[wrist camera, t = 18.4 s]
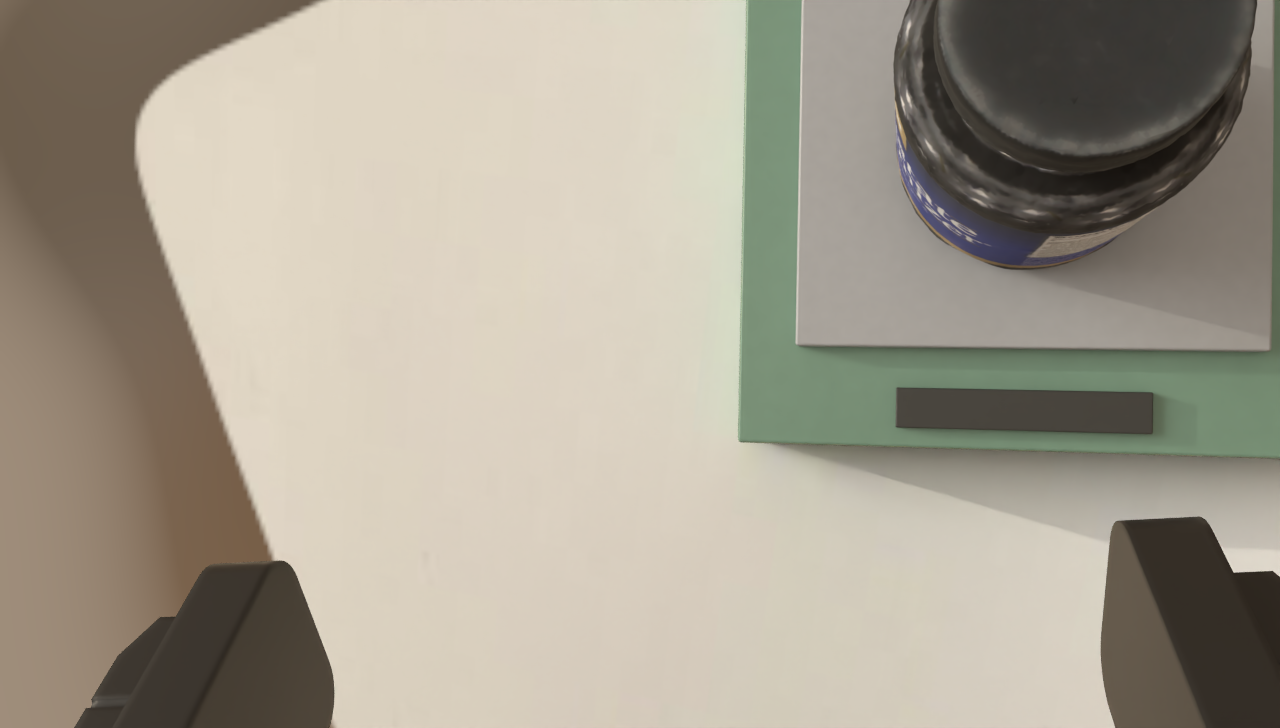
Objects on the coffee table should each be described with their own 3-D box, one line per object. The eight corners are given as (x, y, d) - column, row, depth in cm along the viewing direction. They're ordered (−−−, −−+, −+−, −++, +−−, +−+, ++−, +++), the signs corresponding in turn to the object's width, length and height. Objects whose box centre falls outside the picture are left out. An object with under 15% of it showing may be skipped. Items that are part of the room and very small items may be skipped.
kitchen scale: (751, 438, 33) (733, 443, 30) (760, -92, 34) (745, -141, 31) (1299, 455, 30) (1343, 462, 27) (1304, -130, 31) (1348, -190, 28)
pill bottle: (856, 95, 30) (823, -74, 19) (1089, -24, 29) (1194, -274, 18) (964, 317, 29) (993, 270, 18) (1208, 204, 28) (1391, 85, 17)
